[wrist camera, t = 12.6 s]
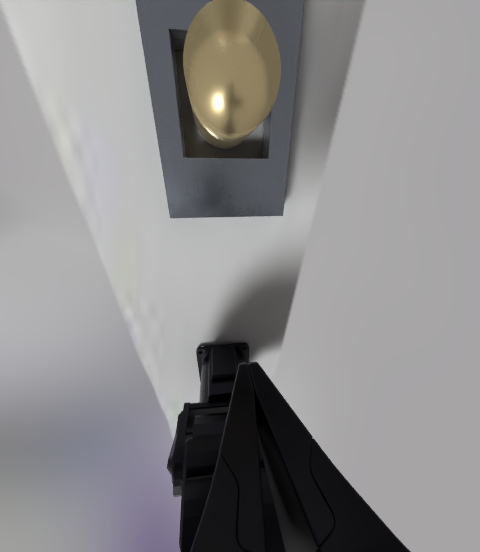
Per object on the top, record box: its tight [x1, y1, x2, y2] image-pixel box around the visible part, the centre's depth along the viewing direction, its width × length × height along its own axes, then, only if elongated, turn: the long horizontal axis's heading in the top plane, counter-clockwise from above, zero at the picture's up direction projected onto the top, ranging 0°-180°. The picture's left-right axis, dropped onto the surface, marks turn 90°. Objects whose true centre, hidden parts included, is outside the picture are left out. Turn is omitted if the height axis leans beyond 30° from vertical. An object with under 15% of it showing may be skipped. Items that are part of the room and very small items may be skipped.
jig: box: [136, 0, 304, 218], centre depth 13 cm, size 14×9×2 cm, turn 0°
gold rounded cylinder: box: [183, 0, 281, 149], centre depth 11 cm, size 4×4×6 cm
